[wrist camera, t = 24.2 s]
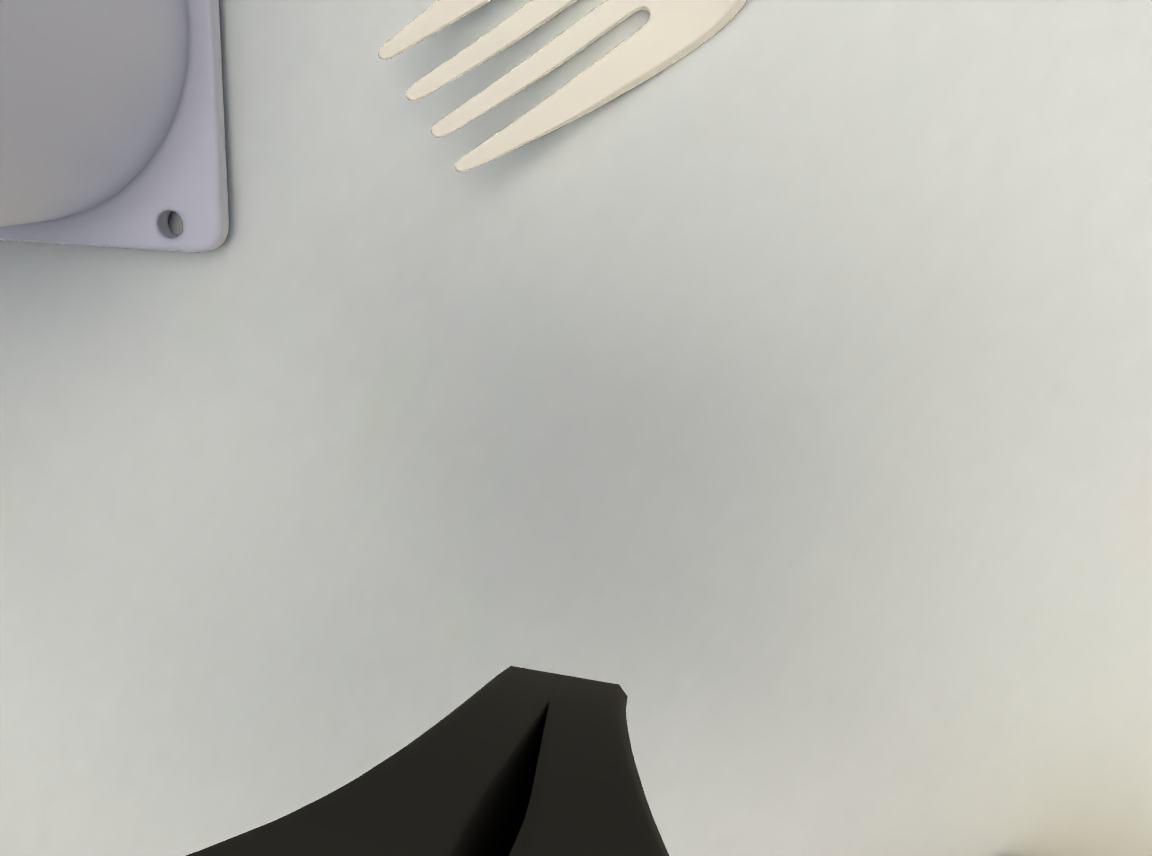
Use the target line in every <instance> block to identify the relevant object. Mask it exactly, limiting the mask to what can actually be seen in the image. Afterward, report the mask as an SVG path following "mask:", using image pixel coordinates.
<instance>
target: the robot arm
mask: <svg viewBox="0 0 1152 856" xmlns="http://www.w3.org/2000/svg"><path fill="white" fill-rule="evenodd" d="M172 211H174V212H176V213H177V214H178V215H179V216H180V217H181V219H182V222H183V231H182V233H181V234H180V235H179V236H177V235H175V234H174V233H173V232H172V231H171V230H170V229H169V226H168V222H167V221H168V215H169V214H170V213H171V212H172ZM228 230H229V212H228V190H227V168H226V147H225V125H224V103H223V82H222V60H221V38H220V16H219V0H0V240H5V241H21V242H37V243H52V244H68V245H84V246H100V247H116V248H132V249H148V250H163V251H179V252H195V253H199V252H206V251H210V250H215V249H216V248H218V247H219V246H221V245H222V244H223V243H224V241H225V240H226V238H227V236H228ZM626 703H627V695H626V694H625V692H624V691H623V690H622V688H621V687H620V685H618V684H612V683H606V682H600V681H595V680H589V679H583V678H577V677H571V676H566V675H560V674H554V673H548V672H542V671H537V670H531V669H525V668H519V667H514V666H510V667H509V668H507V669H506V670H504V671H503V672H501V673H500V674H499V675H497V676H496V677H495V678H494V679H492V680H491V681H490V682H489V683H487V684H486V685H485V686H484V687H483V688H481V689H480V690H479V691H478V692H476V693H475V694H474V695H473V696H472V697H470V698H469V699H468V700H467V701H465V702H464V703H463V704H462V705H460V706H459V707H458V708H457V709H455V710H454V711H453V712H451V713H450V714H449V715H448V716H446V717H445V718H444V719H442V720H441V721H440V722H438V723H437V724H436V725H434V726H433V727H432V728H430V729H429V730H428V731H426V732H425V733H423V734H422V735H421V736H419V737H418V738H417V739H415V740H414V741H413V742H411V743H410V744H409V745H407V746H406V747H404V748H403V749H401V750H400V751H399V752H397V753H395V754H394V755H392V756H391V757H389V758H388V759H386V760H385V761H383V762H382V763H380V764H378V765H377V766H375V767H374V768H372V769H371V770H369V771H368V772H366V773H365V774H363V775H361V776H360V777H358V778H357V779H355V780H353V781H352V782H350V783H348V784H346V785H345V786H343V787H341V788H339V789H337V790H336V791H334V792H332V793H330V794H328V795H326V796H325V797H323V798H321V799H319V800H317V801H315V802H312V803H310V804H308V805H306V806H304V807H302V808H300V809H298V810H296V811H294V812H292V813H290V814H288V815H286V816H284V817H282V818H280V819H277V820H275V821H273V822H271V823H268V824H266V825H263V826H261V827H258V828H256V829H253V830H251V831H248V832H246V833H243V834H241V835H238V836H236V837H233V838H231V839H228V840H226V841H223V842H220V843H218V844H215V845H213V846H210V847H208V848H205V849H203V850H200V851H198V852H195V853H192V854H189V855H186V856H669V854H668V852H667V850H666V847H665V845H664V843H663V840H662V838H661V836H660V833H659V831H658V828H657V826H656V824H655V821H654V819H653V816H652V814H651V811H650V808H649V805H648V803H647V800H646V797H645V794H644V791H643V787H642V784H641V781H640V778H639V774H638V771H637V768H636V765H635V761H634V757H633V753H632V749H631V744H630V739H629V734H628V728H627V720H626Z"/></svg>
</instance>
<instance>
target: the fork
mask: <svg viewBox="0 0 1152 856" xmlns="http://www.w3.org/2000/svg"><path fill="white" fill-rule="evenodd" d="M490 1H492V0H437V1H436V2H435V3H434V4H432V5H431V6H430V7H429V8H428V9H426V10H425V11H424V12H423V13H421V14H420V15H419V16H418V17H416V18H415V19H414V20H413V21H411V22H410V23H409V24H408V25H407V26H405V27H404V28H403V29H402V30H400V31H399V32H398V33H397V34H396V35H394V36H393V37H392V38H391V39H390V40H388V41H387V42H386V43H385V44H384V45H383V46H382V47H381V48H380V49H379V52H378V56H379V58H380V59H382V60H387V59H390V58H392V57H394V56H396V55H398V54H400V53H401V52H403V51H405V50H407V49H409V48H410V47H412V46H414V45H416V44H417V43H419V42H421V41H423V40H424V39H426V38H428V37H430V36H431V35H433V34H435V33H437V32H438V31H440V30H442V29H444V28H446V27H447V26H449V25H451V24H453V23H454V22H456V21H458V20H460V19H461V18H463V17H465V16H466V15H468V14H470V13H472V12H473V11H475V10H477V9H478V8H480V7H482V6H483V5H485V4H487V3H488V2H490ZM576 1H577V0H531V1H529V2H528V3H527V4H525V5H524V6H523V7H522V8H520V9H519V10H518V11H516V12H515V13H514V14H512V15H511V16H510V17H509V18H507V19H506V20H505V21H503V22H502V23H500V24H499V25H498V26H496V27H495V28H494V29H492V30H491V31H489V32H488V33H486V34H485V35H484V36H482V37H481V38H479V39H478V40H476V41H475V42H474V43H472V44H471V45H469V46H468V47H466V48H465V49H464V50H462V51H461V52H459V53H458V54H456V55H455V56H453V57H452V58H450V59H449V60H447V61H446V62H444V63H443V64H441V65H440V66H438V67H437V68H435V69H434V70H433V71H431V72H430V73H428V74H427V75H425V76H424V77H423V78H421V79H420V80H418V81H417V82H416V83H414V84H413V85H412V86H411V87H409V89H408V90H407V92H406V97H407V99H408V100H410V101H416V100H419V99H421V98H423V97H425V96H427V95H429V94H431V93H433V92H434V91H436V90H438V89H440V88H441V87H443V86H445V85H446V84H448V83H450V82H452V81H453V80H455V79H457V78H458V77H460V76H462V75H464V74H465V73H467V72H469V71H470V70H472V69H474V68H475V67H477V66H479V65H480V64H482V63H484V62H485V61H487V60H489V59H490V58H492V57H493V56H495V55H497V54H498V53H500V52H501V51H503V50H504V49H506V48H508V47H509V46H511V45H512V44H514V43H515V42H517V41H518V40H520V39H522V38H523V37H525V36H526V35H528V34H529V33H531V32H532V31H534V30H535V29H537V28H538V27H540V26H541V25H543V24H544V23H546V22H547V21H549V20H550V19H551V18H553V17H554V16H556V15H557V14H559V13H560V12H561V11H563V10H564V9H566V8H567V7H569V6H570V5H571V4H573V3H574V2H576ZM746 1H747V0H606V1H604V2H603V3H602V4H600V5H599V6H597V7H596V8H595V9H593V10H592V11H591V12H589V13H588V14H587V15H585V16H584V17H582V18H581V19H580V20H578V21H577V22H576V23H574V24H573V25H572V26H570V27H569V28H568V29H566V30H565V31H564V32H562V33H561V34H560V35H558V36H557V37H556V38H554V39H553V40H552V41H550V42H549V43H548V44H546V45H545V46H544V47H543V48H541V49H540V50H539V51H537V52H536V53H535V54H533V55H532V56H531V57H529V58H528V59H527V60H525V61H524V62H522V63H521V64H520V65H518V66H517V67H515V68H514V69H513V70H511V71H510V72H508V73H507V74H506V75H504V76H503V77H501V78H500V79H499V80H497V81H496V82H494V83H493V84H491V85H490V86H489V87H487V88H486V89H484V90H483V91H482V92H480V93H479V94H477V95H476V96H474V97H473V98H471V99H470V100H468V101H467V102H465V103H464V104H462V105H461V106H460V107H458V108H457V109H455V110H454V111H452V112H451V113H450V114H448V115H447V116H445V117H444V118H442V119H441V120H440V121H438V122H437V123H436V124H434V125H433V127H432V128H431V134H432V136H434V137H437V138H439V137H443V136H446V135H448V134H450V133H452V132H454V131H456V130H458V129H459V128H461V127H463V126H465V125H466V124H468V123H470V122H471V121H473V120H475V119H476V118H478V117H479V116H481V115H483V114H484V113H486V112H488V111H489V110H491V109H493V108H494V107H496V106H498V105H499V104H501V103H503V102H504V101H506V100H507V99H509V98H511V97H512V96H514V95H515V94H517V93H519V92H520V91H522V90H523V89H525V88H526V87H528V86H529V85H531V84H533V83H534V82H536V81H537V80H539V79H540V78H542V77H543V76H545V75H546V74H548V73H550V72H551V71H553V70H554V69H556V68H557V67H559V66H560V65H562V64H563V63H565V62H566V61H568V60H569V59H571V58H572V57H574V56H575V55H576V54H578V53H579V52H581V51H582V50H583V49H585V48H586V47H588V46H589V45H590V44H592V43H593V42H595V41H596V40H597V39H599V38H600V37H602V36H603V35H604V34H606V33H607V32H609V31H610V30H611V29H613V28H614V27H616V26H617V25H618V24H620V23H621V22H623V21H624V20H625V19H627V18H628V17H629V16H631V15H632V14H634V13H636V12H637V11H640V10H646V11H647V12H648V13H649V14H650V18H649V20H648V22H647V23H646V24H645V25H644V26H643V27H642V28H640V29H639V30H638V31H636V32H635V33H634V34H632V35H631V36H630V37H628V38H627V39H626V40H624V41H623V42H622V43H620V44H619V45H618V46H616V47H615V48H614V49H612V50H611V51H610V52H608V53H607V54H606V55H605V56H603V57H602V58H601V59H599V60H598V61H597V62H595V63H594V64H592V65H591V66H590V67H588V68H587V69H586V70H584V71H583V72H582V73H580V74H579V75H578V76H576V77H575V78H574V79H572V80H571V81H570V82H568V83H567V84H566V85H564V86H563V87H562V88H560V89H559V90H558V91H556V92H555V93H554V94H552V95H551V96H549V97H548V98H547V99H545V100H544V101H542V102H541V103H540V104H538V105H537V106H535V107H534V108H533V109H531V110H530V111H528V112H527V113H526V114H524V115H523V116H521V117H520V118H518V119H517V120H516V121H514V122H513V123H511V124H510V125H508V126H507V127H506V128H504V129H503V130H501V131H500V132H498V133H497V134H495V135H494V136H492V137H491V138H490V139H488V140H487V141H485V142H484V143H482V144H481V145H479V146H478V147H476V148H475V149H473V150H472V151H470V152H469V153H467V154H466V155H464V156H463V157H461V158H460V159H459V160H458V161H457V162H456V163H455V170H456V171H458V172H464V171H467V170H470V169H472V168H475V167H477V166H479V165H482V164H484V163H486V162H489V161H491V160H493V159H495V158H498V157H500V156H502V155H504V154H506V153H508V152H510V151H513V150H515V149H517V148H519V147H521V146H523V145H525V144H527V143H529V142H531V141H533V140H536V139H538V138H540V137H542V136H544V135H546V134H548V133H550V132H552V131H554V130H556V129H558V128H560V127H562V126H564V125H566V124H568V123H570V122H572V121H574V120H576V119H578V118H580V117H582V116H584V115H585V114H587V113H589V112H591V111H593V110H595V109H597V108H598V107H600V106H602V105H604V104H606V103H607V102H609V101H611V100H613V99H614V98H616V97H618V96H620V95H621V94H623V93H625V92H627V91H628V90H630V89H632V88H634V87H635V86H637V85H639V84H641V83H642V82H644V81H646V80H647V79H649V78H651V77H653V76H654V75H656V74H658V73H659V72H661V71H662V70H664V69H666V68H667V67H669V66H670V65H672V64H673V63H675V62H677V61H678V60H680V59H681V58H683V57H684V56H686V55H687V54H689V53H690V52H692V51H693V50H695V49H696V48H697V47H699V46H700V45H702V44H703V43H704V42H706V41H707V40H708V39H710V38H711V37H712V36H714V35H715V34H716V33H717V32H719V31H720V30H721V29H722V28H723V27H724V26H725V25H726V24H727V23H728V22H729V21H730V20H731V19H732V18H733V17H734V16H735V15H736V14H737V13H738V12H739V10H740V9H741V8H742V7H743V5H744V4H745V2H746Z"/></svg>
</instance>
